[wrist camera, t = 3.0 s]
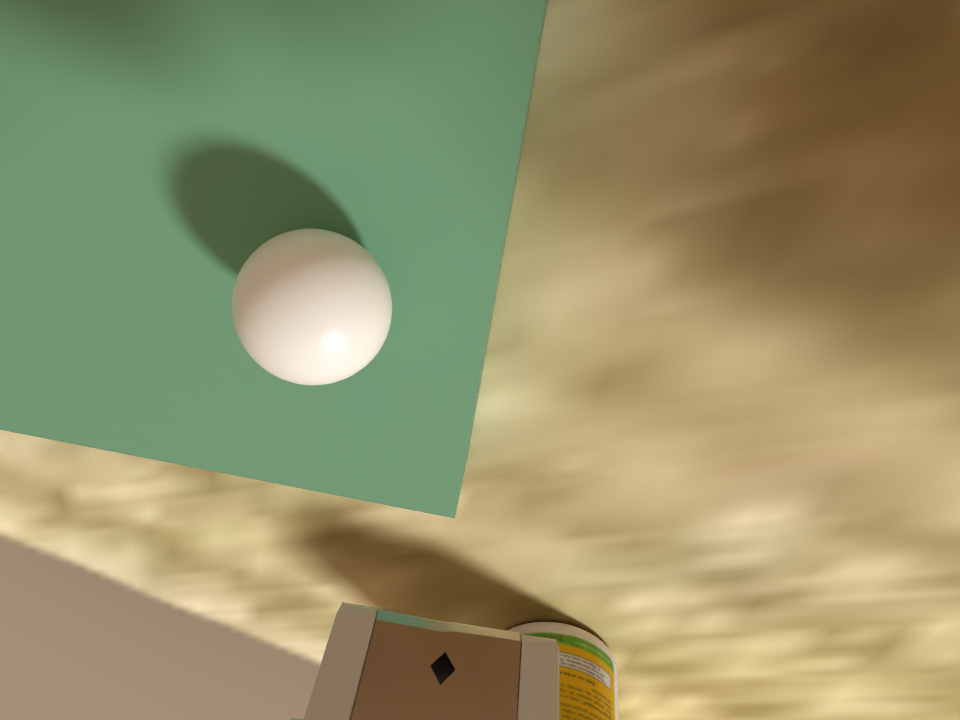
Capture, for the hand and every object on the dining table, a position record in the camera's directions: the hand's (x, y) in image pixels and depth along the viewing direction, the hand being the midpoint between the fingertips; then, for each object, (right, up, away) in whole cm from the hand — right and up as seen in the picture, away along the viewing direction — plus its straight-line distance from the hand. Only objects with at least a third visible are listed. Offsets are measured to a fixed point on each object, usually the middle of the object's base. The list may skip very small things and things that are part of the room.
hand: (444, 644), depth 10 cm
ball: (-3, +5, +7) cm, 9 cm away
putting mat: (-9, +9, +10) cm, 16 cm away
